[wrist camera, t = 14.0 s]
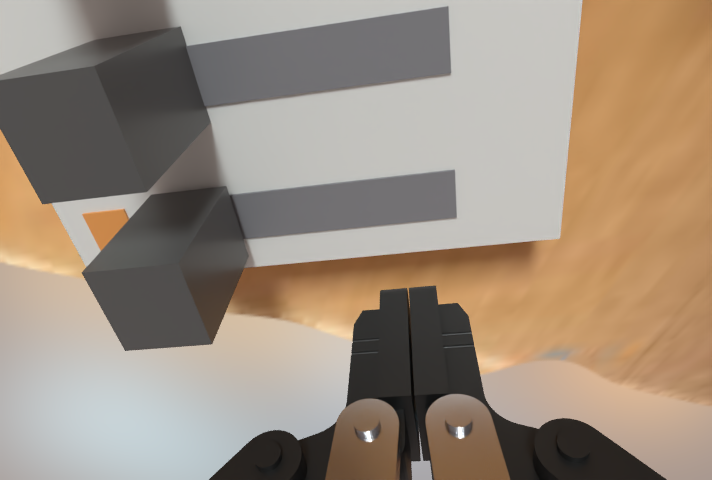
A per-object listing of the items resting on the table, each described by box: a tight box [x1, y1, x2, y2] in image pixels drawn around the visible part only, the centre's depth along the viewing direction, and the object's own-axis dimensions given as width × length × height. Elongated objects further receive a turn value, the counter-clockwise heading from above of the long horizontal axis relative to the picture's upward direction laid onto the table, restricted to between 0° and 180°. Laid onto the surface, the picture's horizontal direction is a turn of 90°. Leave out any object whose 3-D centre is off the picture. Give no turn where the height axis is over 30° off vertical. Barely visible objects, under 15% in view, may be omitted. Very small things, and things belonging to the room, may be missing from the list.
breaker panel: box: [0, 0, 582, 268], centre depth 15 cm, size 20×16×8 cm
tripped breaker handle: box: [82, 186, 249, 351], centre depth 17 cm, size 3×3×5 cm
